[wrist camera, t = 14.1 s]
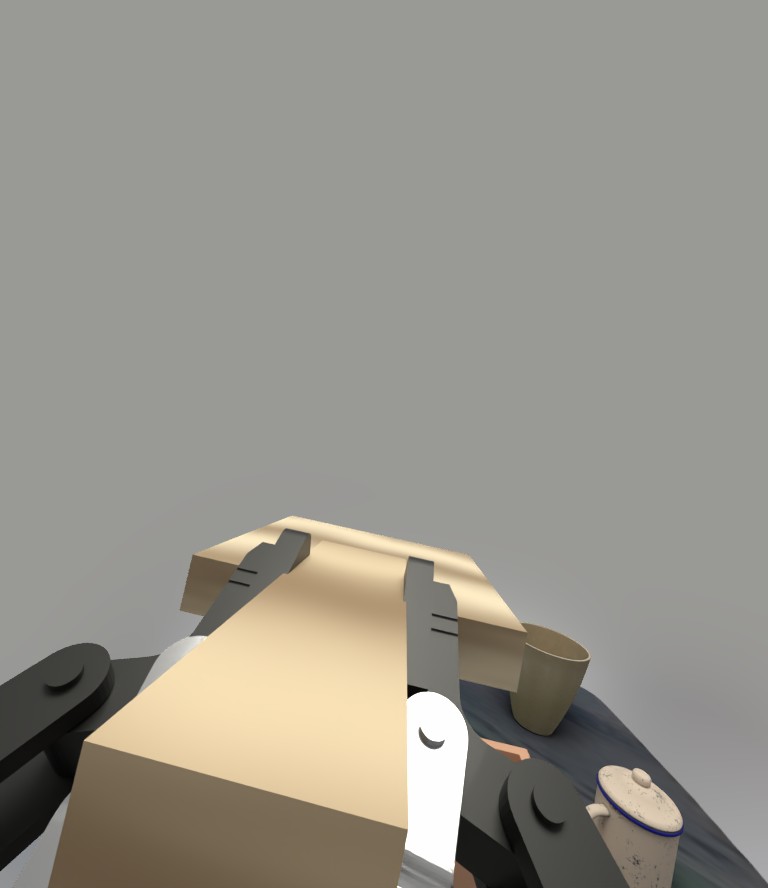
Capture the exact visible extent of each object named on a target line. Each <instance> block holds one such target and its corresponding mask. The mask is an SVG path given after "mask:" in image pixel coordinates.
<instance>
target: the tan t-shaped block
mask: <svg viewBox="0 0 768 888" xmlns="http://www.w3.org/2000/svg"><path fill="white" fill-rule="evenodd" d="M285 528H288V529H293V530H297V531H302V532H306V533H310V534H311V547H310V555H309V556H308V557H307V558H306V559H304V560H303V561H302V562H301V563H300V564H299V565H298V566H296V567H295V568H294V569H293V570H292V571H291V572H290V573H289V574H284V573H283V574H282V575H281V576H279V577H278V578H277V579H276V580H275V581H274V582H272V583H271V584H270V585H269V586H268V587H266V588H265V589H264V590H263V591H262V592H260V593H259V594H258V595H257V596H256V597H254V598H253V599H252V600H251V601H250V602H248V603H247V604H246V605H245V606H244V607H242V608H241V609H240V610H239V611H238V612H237V613H235V614H234V615H233V616H232V617H231V618H229V619H228V620H227V621H226V622H225V623H223V624H222V625H221V626H220V627H219V628H217V629H216V630H215V631H214V632H213V633H211V634H210V635H209V636H208V637H207V638H206V639H204V640H203V641H202V642H201V643H200V644H198V645H197V646H196V647H195V648H194V649H192V650H191V651H190V652H189V653H188V654H186V655H185V656H184V657H183V658H182V659H180V660H179V661H178V662H177V663H176V664H174V665H173V666H172V667H171V668H170V669H169V670H167V671H166V672H165V673H164V674H163V675H161V676H160V677H159V678H158V679H157V680H155V681H154V682H153V683H152V684H151V685H149V686H148V687H147V688H146V689H145V690H143V691H142V692H141V693H140V694H139V695H137V696H136V697H135V698H134V699H133V700H132V701H130V702H129V703H128V704H127V705H126V706H124V707H123V708H122V709H121V710H120V711H118V712H117V713H116V714H115V715H114V716H112V717H111V718H110V719H109V720H108V721H106V722H105V723H104V724H103V725H102V726H101V727H99V728H98V729H97V730H96V731H95V732H93V733H92V734H91V735H90V736H89V737H87V738H86V739H85V740H84V742H83V746H82V750H81V754H80V758H79V762H78V766H77V770H76V774H75V778H74V782H73V786H72V790H71V795H70V799H69V803H68V807H67V811H66V815H65V819H64V823H63V827H62V831H61V835H60V839H59V843H58V848H57V852H56V856H55V860H54V864H53V868H52V872H51V876H50V880H49V884H48V888H397V887H398V882H399V877H400V872H401V866H402V861H403V856H404V851H405V846H406V840H407V835H408V830H409V825H408V726H407V628H406V602H404V601H403V599H404V573H405V569H406V565H407V561H408V557H409V556H412V557H416V558H421V559H425V560H430V561H434V579H433V581H436V582H440V583H444V584H449V585H450V587H451V589H452V591H453V594H454V596H455V598H456V600H457V613H458V620H457V623H458V654H459V679H463V680H467V681H471V682H475V683H479V684H483V685H487V686H491V687H495V688H499V689H504V690H508V691H512V692H516V693H517V689H518V683H519V677H520V672H521V666H522V661H523V655H524V650H525V644H526V639H527V633H528V632H527V631H526V630H525V629H524V627H523V626H522V625H521V623H520V622H519V621H518V619H517V618H516V617H515V616H514V614H513V613H512V612H511V610H510V609H509V608H508V606H507V605H506V604H505V602H504V601H503V600H502V598H501V597H500V596H499V594H498V593H497V592H496V590H495V589H494V588H493V587H492V585H491V584H490V583H489V581H488V580H487V579H486V577H485V576H484V575H483V573H482V572H481V571H480V569H479V568H478V567H477V565H476V564H475V563H474V562H473V560H472V559H471V558H470V556H469V555H467V554H463V553H458V552H453V551H449V550H444V549H440V548H435V547H431V546H426V545H422V544H418V543H413V542H409V541H404V540H399V539H395V538H391V537H386V536H382V535H377V534H372V533H367V532H363V531H359V530H354V529H350V528H345V527H341V526H336V525H331V524H327V523H323V522H318V521H314V520H309V519H305V518H300V517H296V516H290V517H287V518H285V519H282V520H280V521H277V522H275V523H272V524H269V525H267V526H265V527H262V528H260V529H257V530H254V531H252V532H249V533H247V534H244V535H241V536H239V537H236V538H234V539H231V540H229V541H226V542H224V543H221V544H218V545H216V546H213V547H211V548H208V549H206V550H203V551H201V552H198V553H196V554H193V556H192V560H191V564H190V569H189V573H188V577H187V581H186V586H185V590H184V594H183V598H182V603H181V607H180V610H181V611H185V612H188V613H193V614H197V615H201V616H205V614H206V613H207V611H208V610H209V608H210V607H211V606H212V604H213V603H214V601H215V600H216V598H217V597H218V595H219V594H220V592H221V591H222V589H223V588H224V586H225V585H226V584H227V583H228V582H229V579H230V578H231V576H232V575H233V573H234V572H235V570H237V567H238V566H239V564H240V563H241V562H242V560H243V559H244V557H245V556H246V554H247V553H248V552H249V551H251V550H252V549H254V548H255V547H256V546H258V545H259V544H261V543H262V542H266V543H270V544H274V545H275V543H276V542H277V540H278V538H279V537H280V535H281V533H282V532H283V530H284V529H285Z"/></svg>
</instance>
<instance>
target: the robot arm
mask: <svg viewBox="0 0 768 888" xmlns="http://www.w3.org/2000/svg"><path fill="white" fill-rule="evenodd" d="M310 547H311V534H310V533H306V532H302V531H297V530H293V529H288V528H285V529H284V530H283V532H282V533H281V535H280V537H279V538H278V540H277V542H276V543H275V545H274V544H270V543H266V542H262V543H261V544H259V545H258V546H256V547H255V548H254V549H252V550H251V551H249V552H248V553H247V554H246V556H245V557H244V559H243V560H242V562H241V563H240V564H239V566H238V567H237V570H235V572H234V573H233V575H232V576H231V578H230V579H229V582H228V583H227V584H226V585H225V586H224V588H223V589H222V591H221V592H220V594H219V595H218V597H217V598H216V600H215V601H214V603H213V604H212V606H211V607H210V608H209V610H208V611H207V613H206V614H205V616H204V617H203V619H202V620H201V622H200V623H199V625H198V626H197V628H196V629H195V631H194V632H193V633H192V634H191V635H190V636H189V637H188V638H184V639H182V640H179V641H177V642H176V643H174V644H172V645H171V646H169V647H168V648H167V649H166V650H165V651H163V652H162V654H160V655H155V656H150V657H141V658H130V659H118V660H110V656H109V654H108V652H107V650H106V649H105V648H104V647H102V646H100V645H97V644H93V643H82V644H76V645H72V646H69V647H66V648H63V649H61V650H59V651H57V652H55V653H53V654H51V655H50V656H48V657H46V658H45V659H43V660H41V661H40V662H38V663H37V664H35V665H33V666H32V667H30V668H28V669H27V670H25V671H23V672H22V673H20V674H19V675H17V676H15V677H14V678H12V679H10V680H9V681H7V682H6V683H4V684H2V685H1V686H0V871H1V870H2V869H3V868H5V867H6V866H7V865H8V864H9V863H10V862H11V861H12V860H13V859H15V858H16V856H18V855H19V854H20V853H21V852H22V851H23V850H25V849H26V848H27V847H28V846H29V845H30V844H31V843H32V842H33V841H34V840H36V839H37V838H38V837H39V836H40V835H41V834H42V833H43V832H44V833H43V835H42V836H41V838H40V840H39V842H38V843H37V845H36V847H35V849H34V851H33V852H32V854H31V856H30V858H29V859H28V861H27V863H26V865H25V866H24V868H23V870H22V871H21V873H20V875H19V877H18V879H17V880H16V882H15V884H14V886H13V887H12V888H48V884H49V880H50V876H51V872H52V868H53V864H54V860H55V856H56V852H57V848H58V843H59V839H60V835H61V831H62V827H63V823H64V819H65V815H66V811H67V807H68V803H69V799H70V795H71V790H72V786H73V782H74V778H75V774H76V770H77V766H78V762H79V758H80V754H81V750H82V746H83V742H84V740H85V739H86V738H87V737H89V736H90V735H91V734H92V733H93V732H95V731H96V730H97V729H98V728H99V727H101V726H102V725H103V724H104V723H105V722H106V721H108V720H109V719H110V718H111V717H112V716H114V715H115V714H116V713H117V712H118V711H120V710H121V709H122V708H123V707H124V706H126V705H127V704H128V703H129V702H130V701H132V700H133V699H134V698H135V697H136V696H137V695H139V694H140V693H141V692H142V691H143V690H145V689H146V688H147V687H148V686H149V685H151V684H152V683H153V682H154V681H155V680H157V679H158V678H159V677H160V676H161V675H163V674H164V673H165V672H166V671H167V670H169V669H170V668H171V667H172V666H173V665H174V664H176V663H177V662H178V661H179V660H180V659H182V658H183V657H184V656H185V655H186V654H188V653H189V652H190V651H191V650H192V649H194V648H195V647H196V646H197V645H198V644H200V643H201V642H202V641H203V640H204V639H206V638H207V637H208V636H209V635H210V634H211V633H213V632H214V631H215V630H216V629H217V628H219V627H220V626H221V625H222V624H223V623H225V622H226V621H227V620H228V619H229V618H231V617H232V616H233V615H234V614H235V613H237V612H238V611H239V610H240V609H241V608H242V607H244V606H245V605H246V604H247V603H248V602H250V601H251V600H252V599H253V598H254V597H256V596H257V595H258V594H259V593H260V592H262V591H263V590H264V589H265V588H266V587H268V586H269V585H270V584H271V583H272V582H274V581H275V580H276V579H277V578H278V577H279V576H281V575H282V574H283V573H284V574H289V573H290V572H291V571H292V570H293V569H294V568H295V567H296V566H298V565H299V564H300V563H301V562H302V561H303V560H304V559H306V558H307V557H308V556H309V555H310ZM433 579H434V561H430V560H425V559H421V558H416V557H412V556H409V557H408V561H407V565H406V569H405V573H404V599H403V601H404V602H406V628H407V726H408V825H409V830H408V835H407V840H406V846H405V851H404V856H403V861H402V866H401V872H400V877H399V882H398V887H397V888H454V886H453V873H454V862H455V861H456V862H458V863H459V864H460V865H461V866H463V867H464V868H465V869H466V870H468V871H469V872H470V873H471V874H472V875H473V878H474V881H475V884H476V887H477V888H630V887H629V885H628V883H627V881H626V880H625V878H624V876H623V874H622V872H621V871H620V869H619V867H618V865H617V863H616V861H615V860H614V858H613V856H612V854H611V852H610V851H609V849H608V847H607V845H606V843H605V842H604V840H603V838H602V836H601V834H600V832H599V831H598V829H597V827H596V825H595V823H594V822H593V820H592V818H591V816H590V814H589V813H588V811H587V809H586V807H585V805H584V803H583V802H582V800H581V798H580V796H579V794H578V793H577V791H576V790H575V788H574V786H573V785H572V784H571V782H570V781H569V780H568V779H567V778H566V777H565V776H564V774H563V773H562V772H560V771H559V770H558V769H557V768H556V767H554V766H553V765H551V764H549V763H547V762H545V761H543V760H540V759H536V758H528V759H523V760H521V761H519V762H518V763H516V762H514V761H513V760H511V759H510V758H508V757H507V756H505V755H504V754H502V753H501V752H499V751H498V750H496V749H494V748H493V747H491V746H490V745H488V744H487V743H486V742H484V741H483V740H482V739H481V738H480V737H479V736H478V735H477V734H476V733H475V732H474V731H473V729H472V728H471V726H470V725H469V723H468V722H467V720H466V718H465V716H464V713H463V711H462V708H461V703H460V695H459V654H458V623H457V620H458V613H457V600H456V598H455V596H454V594H453V591H452V589H451V587H450V585H449V584H444V583H440V582H436V581H433Z"/></svg>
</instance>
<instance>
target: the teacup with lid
mask: <svg viewBox="0 0 768 888" xmlns="http://www.w3.org/2000/svg"><path fill="white" fill-rule="evenodd" d="M597 784H598V785H597V791H596V797H595V802H594V804H591V805H589V806H587V807H586V809H587V811H588V813H589V814H590V816H591V818H592V820H593V822H594V823H595V825H596V827H597V829H598V831H599V832H600V834H601V836H602V838H603V840H604V842H605V843H606V845H607V847H608V849H609V851H610V852H611V854H612V856H613V858H614V860H615V861H616V863H617V865H618V867H619V869H620V871H621V872H622V874H623V876H624V878H625V880H626V881H627V883H628V885H629V887H630V888H671V884H672V878H673V872H674V866H675V860H676V854H677V847H678V841H679V835H681V834H682V832H683V828H684V827H683V821H682V817H681V814H680V812H679V810H678V808H677V807H676V805H675V804H674V803H673V801H672V800H671V799H670V798H669V797H668V796H667V795H666V794H665V793H664V792H663V791H662V790H661V789H660V788H658V787H657V786H656V785H655V784H653V783H652V782H651V778H650V777H649V775H648V774H647V773H646V772H644V771H643V770H641V769H638V768H635V769H633V771H631V770H628V769H626V768H623V767H619V766H605V767H603V768H602V769H601V770H600V771H599V772H598V774H597Z"/></svg>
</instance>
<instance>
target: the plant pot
mask: <svg viewBox="0 0 768 888" xmlns="http://www.w3.org/2000/svg"><path fill="white" fill-rule="evenodd" d="M520 623H521V625H522V626H523V627H524V629H525V630H526V631H527V632H528V633H527V639H526V644H525V650H524V655H523V661H522V666H521V672H520V677H519V683H518V689H517V693H516V692H512V691H510V698H511V705H512V712H513V716H514V718H515V719H516V721H517V722H518V723H519V724H520V725H522V726H523V727H524V728H526V729H527V730H529V731H531V732H533V733H536V734H539V735H550V734H552V733H553V731H554V730H555V729H556V727H557V726H558V725H559V723H560V722H561V720H562V719H563V717H564V716H565V714H566V712H567V711H568V709H569V707H570V705H571V704H572V702H573V700H574V698H575V696H576V694H577V692H578V690H579V687H580V685H581V683H582V680H583V678H584V675H585V672H586V670H587V667H588V664H589V661H590V658H591V655H590V653H589V651H588V650H587V649H586V648H585V647H584V646H582V645H581V644H580V643H578V642H576V641H575V640H573V639H572V638H570V637H568V636H566V635H564V634H562V633H559V632H557V631H555V630H552V629H549V628H546V627H543V626H540V625H536V624H532V623H526V622H520Z"/></svg>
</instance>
